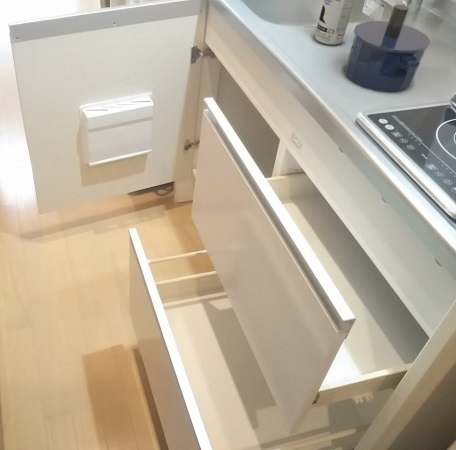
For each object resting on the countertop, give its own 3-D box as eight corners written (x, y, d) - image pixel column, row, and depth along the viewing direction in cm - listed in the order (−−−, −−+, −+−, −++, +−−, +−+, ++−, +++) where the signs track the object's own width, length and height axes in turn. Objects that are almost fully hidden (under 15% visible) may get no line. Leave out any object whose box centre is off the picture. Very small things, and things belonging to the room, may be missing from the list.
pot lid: (404, 25, 112) (416, -7, 107) (442, 55, 101) (457, 20, 96) (341, 27, 109) (350, -6, 105) (373, 57, 99) (385, 22, 94)
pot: (385, 56, 118) (398, 18, 113) (430, 97, 105) (448, 57, 99) (329, 58, 116) (340, 20, 111) (368, 100, 103) (382, 59, 97)
